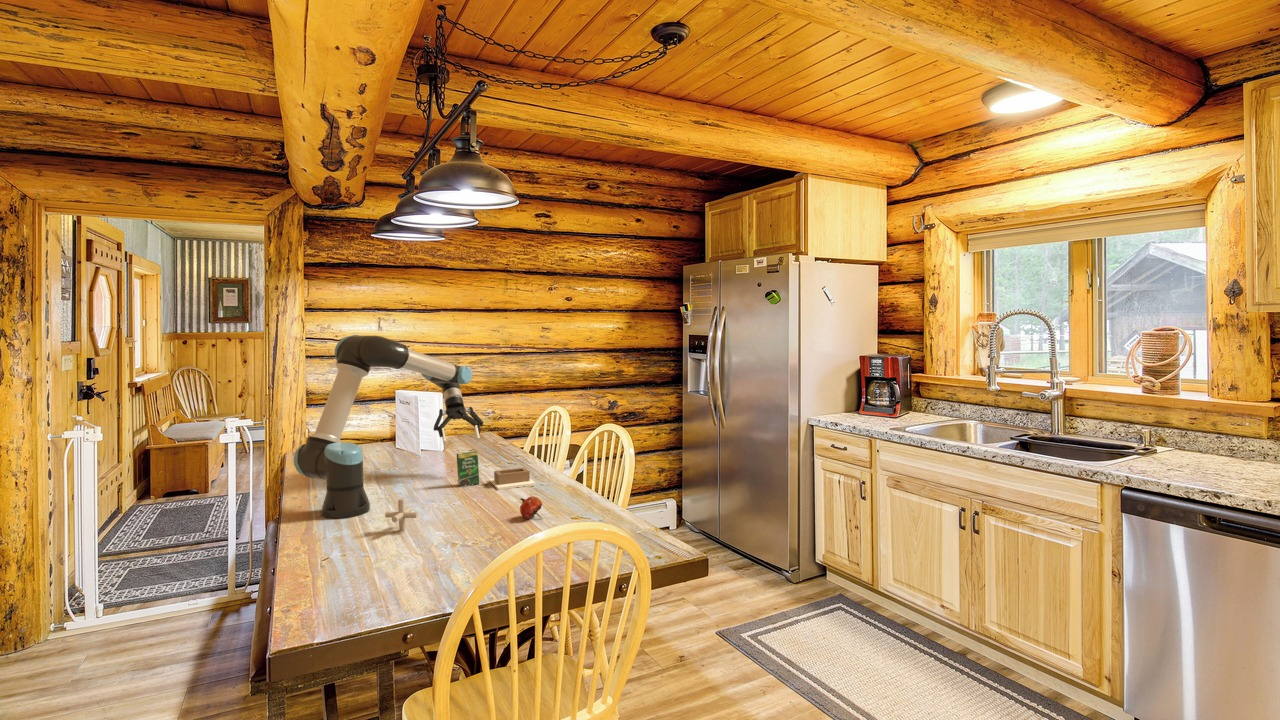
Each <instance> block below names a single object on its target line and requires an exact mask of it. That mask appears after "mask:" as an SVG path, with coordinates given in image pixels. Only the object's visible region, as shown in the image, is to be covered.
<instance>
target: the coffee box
mask: <svg viewBox="0 0 1280 720" xmlns="http://www.w3.org/2000/svg"><path fill="white" fill-rule="evenodd" d="M478 454H479V452H478V451H477V450H475V451H469V452H467V451H466V452H460V453H459V452H458V453H456V466H457V467H456V468H457V485H458V487H460V486H462V487H466V486H465V485H469V486H473V485H472V484H476V485H480V470H479V457H478V456H479V455H478Z"/></svg>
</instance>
